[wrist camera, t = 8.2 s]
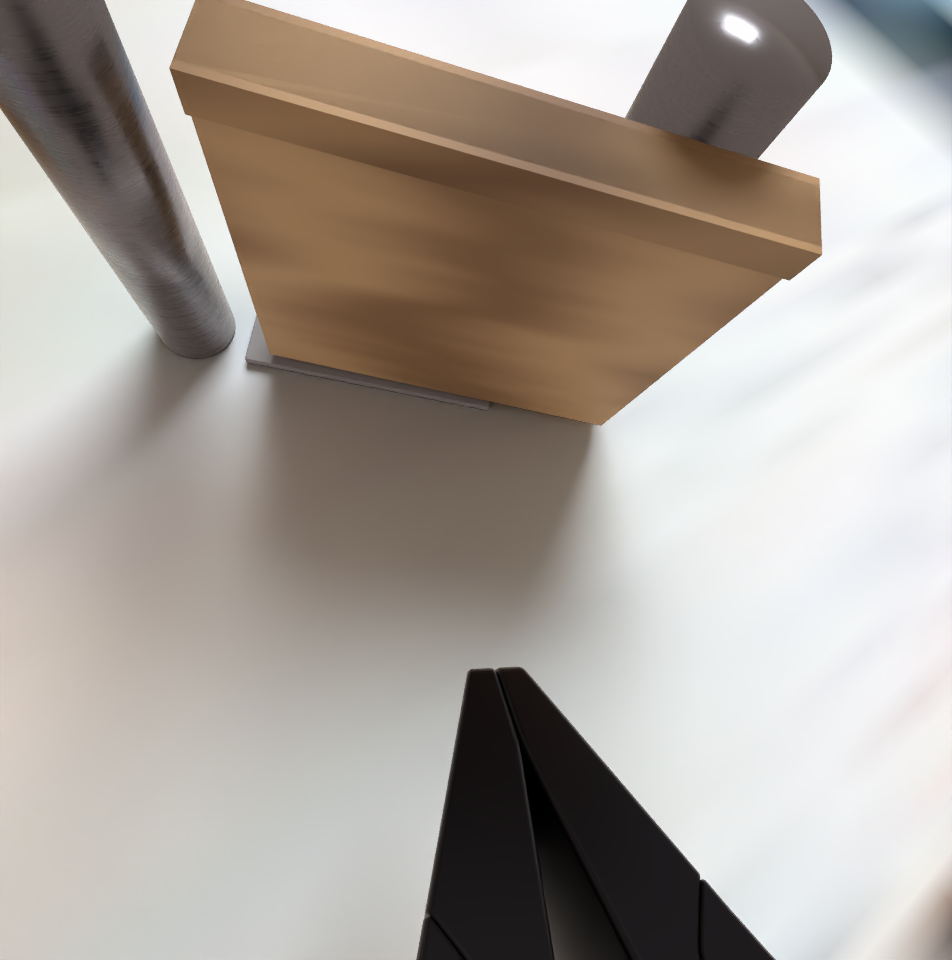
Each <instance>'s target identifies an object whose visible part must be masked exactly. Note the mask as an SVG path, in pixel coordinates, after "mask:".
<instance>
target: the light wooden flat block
mask: <svg viewBox="0 0 952 960" xmlns="http://www.w3.org/2000/svg"><path fill="white" fill-rule="evenodd" d="M170 71H171V74H172V77H173V80H174V83H175V86H176V89H177V92H178V95H179V98H180V101H181V104H182V106H183V109H184V112H185V114H186V115H190V116H191V117H192V120H193V123H194V126H195V129H196V132H197V135H198V138H199V141H200V144H201V147H202V150H203V153H204V156H205V159H206V162H207V165H208V168H209V171H210V174H211V177H212V180H213V183H214V186H215V189H216V192H217V195H218V198H219V201H220V204H221V208H222V211H223V214H224V217H225V220H226V223H227V226H228V229H229V232H230V235H231V238H232V241H233V244H234V247H235V250H236V253H237V256H238V259H239V262H240V265H241V268H242V271H243V274H244V277H245V280H246V283H247V286H248V289H249V292H250V295H251V298H252V302H253V305H254V308H255V311H256V314H257V317H258V320H259V323H260V326H261V329H262V332H263V335H264V338H265V341H266V344H267V347H268V350H269V353H270V354H272V355H276V356H281V357H286V358H290V359H295V360H300V361H304V362H309V363H313V364H318V365H323V366H327V367H332V368H337V369H341V370H346V371H351V372H355V373H360V374H364V375H369V376H374V377H378V378H383V379H388V380H392V381H397V382H402V383H406V384H411V385H416V386H420V387H425V388H429V389H434V390H439V391H443V392H448V393H453V394H457V395H462V396H467V397H471V398H476V399H480V400H485V401H490V402H494V403H499V404H504V405H508V406H513V407H518V408H522V409H527V410H531V411H536V412H541V413H545V414H550V415H555V416H559V417H564V418H569V419H573V420H578V421H583V422H587V423H592V424H596V425H603V424H604V423H605V422H606V421H607V420H609V419H610V418H611V417H612V416H614V415H615V414H616V413H617V412H619V411H620V410H621V409H622V408H623V407H625V406H626V405H627V404H628V403H630V402H631V401H632V400H633V399H635V398H636V397H637V396H638V395H640V394H641V393H642V392H643V391H644V390H646V389H647V388H648V387H649V386H651V385H652V384H653V383H654V382H656V381H657V380H658V379H659V378H661V377H662V376H663V375H664V374H665V373H667V372H668V371H669V370H670V369H672V368H673V367H674V366H675V365H677V364H678V363H679V362H680V361H681V360H683V359H684V358H685V357H686V356H688V355H689V354H690V353H691V352H693V351H694V350H695V349H696V348H698V347H699V346H700V345H701V344H702V343H704V342H705V341H706V340H707V339H709V338H710V337H711V336H712V335H714V334H715V333H716V332H717V331H718V330H720V329H721V328H722V327H723V326H725V325H726V324H727V323H728V322H730V321H731V320H732V319H733V318H735V317H736V316H737V315H738V314H739V313H741V312H742V311H743V310H744V309H746V308H747V307H748V306H749V305H751V304H752V303H753V302H754V301H756V300H757V299H758V298H759V297H760V296H762V295H763V294H764V293H765V292H767V291H768V290H769V289H770V288H772V287H773V286H774V285H775V284H776V283H778V282H779V281H780V280H781V279H786V280H791V279H792V278H793V277H795V276H796V275H797V274H798V273H800V272H801V271H802V270H803V269H805V268H806V267H807V266H808V265H810V264H811V263H812V262H814V261H815V260H816V259H817V258H819V257H820V256H821V255H822V240H821V212H820V184H819V178H816V177H812V176H809V175H806V174H803V173H800V172H796V171H793V170H790V169H787V168H783V167H780V166H777V165H774V164H771V163H767V162H764V161H761V160H758V159H754V158H751V157H748V156H745V155H742V154H738V153H735V152H732V151H729V150H725V149H722V148H718V147H716V146H713V145H709V144H706V143H703V142H700V141H696V140H693V139H690V138H687V137H684V136H680V135H677V134H674V133H671V132H668V131H664V130H661V129H658V128H655V127H651V126H648V125H645V124H642V123H639V122H635V121H632V120H629V119H626V118H622V117H619V116H616V115H613V114H610V113H606V112H603V111H600V110H597V109H593V108H590V107H587V106H584V105H581V104H577V103H574V102H571V101H568V100H564V99H561V98H558V97H555V96H552V95H548V94H545V93H542V92H539V91H535V90H532V89H529V88H526V87H523V86H519V85H516V84H513V83H510V82H506V81H503V80H500V79H497V78H494V77H490V76H487V75H484V74H481V73H477V72H474V71H471V70H468V69H465V68H461V67H458V66H455V65H452V64H448V63H445V62H442V61H439V60H436V59H432V58H429V57H426V56H423V55H419V54H416V53H413V52H410V51H407V50H403V49H400V48H397V47H394V46H390V45H387V44H384V43H381V42H378V41H374V40H371V39H368V38H365V37H361V36H358V35H355V34H352V33H349V32H345V31H342V30H339V29H336V28H332V27H329V26H326V25H323V24H320V23H316V22H313V21H310V20H307V19H303V18H300V17H297V16H294V15H291V14H287V13H284V12H281V11H278V10H274V9H271V8H268V7H265V6H262V5H258V4H255V3H252V2H249V1H245V0H195V3H194V5H193V8H192V10H191V13H190V16H189V18H188V21H187V24H186V26H185V29H184V31H183V34H182V37H181V39H180V42H179V44H178V47H177V50H176V52H175V55H174V57H173V60H172V63H171V65H170Z"/></svg>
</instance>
